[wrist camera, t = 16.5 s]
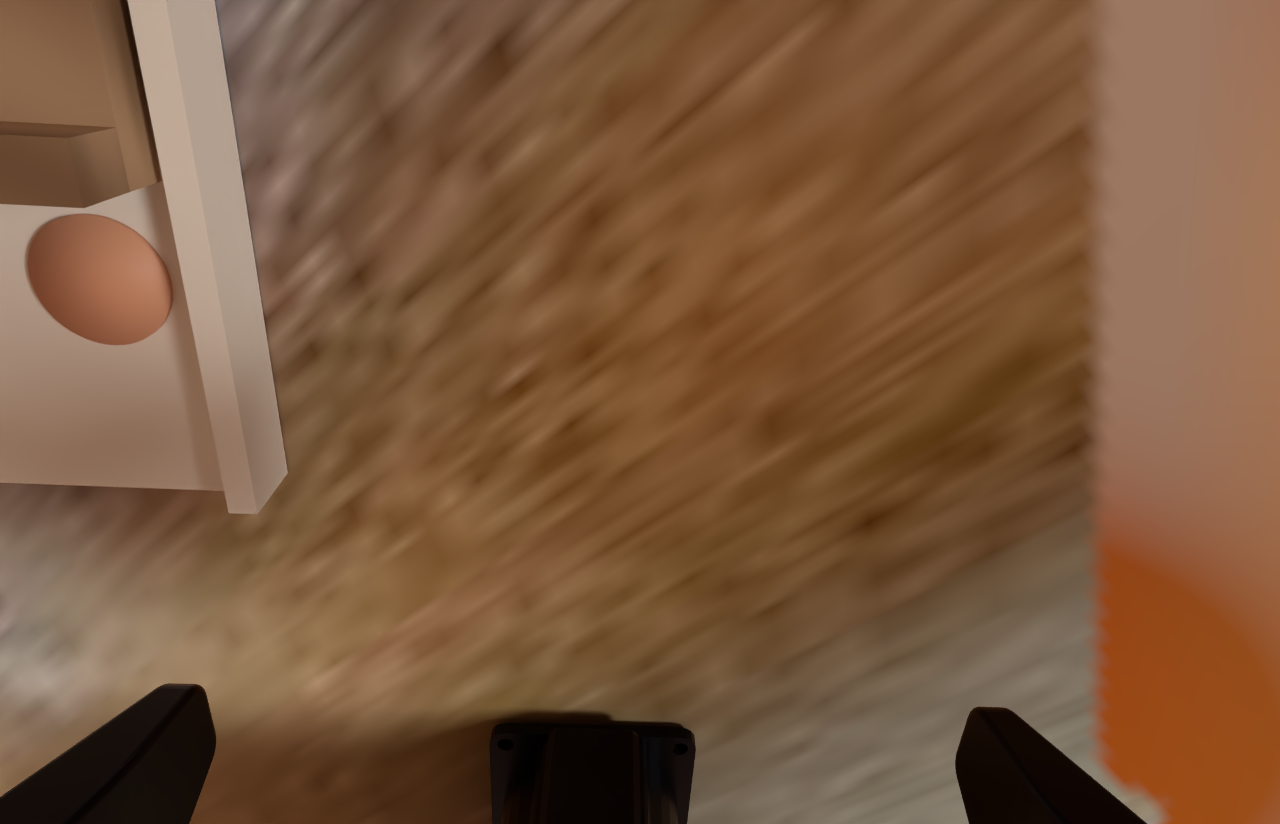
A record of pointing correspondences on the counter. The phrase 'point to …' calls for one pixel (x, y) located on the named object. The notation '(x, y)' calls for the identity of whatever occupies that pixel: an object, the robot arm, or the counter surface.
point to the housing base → (145, 304)
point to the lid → (71, 104)
